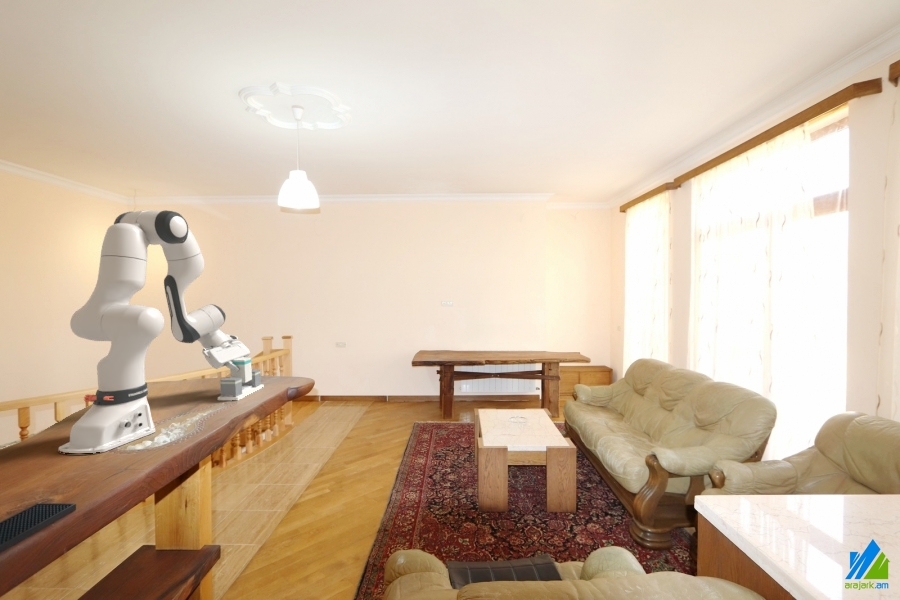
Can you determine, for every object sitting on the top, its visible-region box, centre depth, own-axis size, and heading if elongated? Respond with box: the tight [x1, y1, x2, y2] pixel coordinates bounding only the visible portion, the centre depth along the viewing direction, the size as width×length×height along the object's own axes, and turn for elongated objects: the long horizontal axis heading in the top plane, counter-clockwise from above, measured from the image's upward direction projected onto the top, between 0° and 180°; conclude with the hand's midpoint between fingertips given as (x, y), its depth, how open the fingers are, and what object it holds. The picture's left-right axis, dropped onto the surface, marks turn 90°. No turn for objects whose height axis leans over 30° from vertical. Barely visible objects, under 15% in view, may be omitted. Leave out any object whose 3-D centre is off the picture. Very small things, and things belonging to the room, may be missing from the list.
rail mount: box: [217, 368, 265, 401], centre depth 161 cm, size 18×8×8 cm, turn 175°
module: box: [229, 357, 253, 383], centre depth 160 cm, size 5×6×9 cm
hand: (242, 368), depth 160 cm, fingers closed on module, 4 cm apart
